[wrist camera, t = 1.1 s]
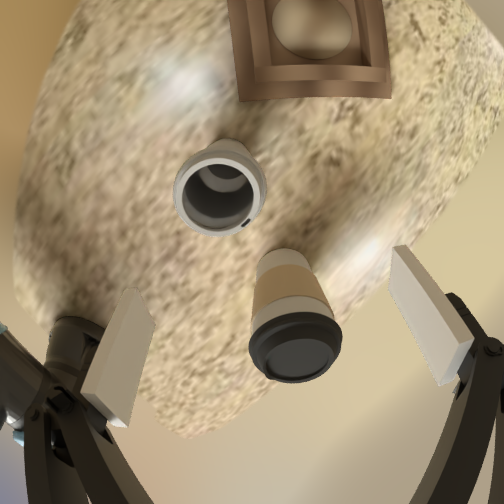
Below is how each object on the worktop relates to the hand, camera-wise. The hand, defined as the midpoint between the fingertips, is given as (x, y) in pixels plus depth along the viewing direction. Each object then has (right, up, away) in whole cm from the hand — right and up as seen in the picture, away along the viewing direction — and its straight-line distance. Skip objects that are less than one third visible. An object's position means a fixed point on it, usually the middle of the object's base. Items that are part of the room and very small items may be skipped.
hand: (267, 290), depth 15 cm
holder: (+5, +25, +8) cm, 26 cm away
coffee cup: (+3, 0, +23) cm, 24 cm away
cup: (-3, +12, +16) cm, 20 cm away
